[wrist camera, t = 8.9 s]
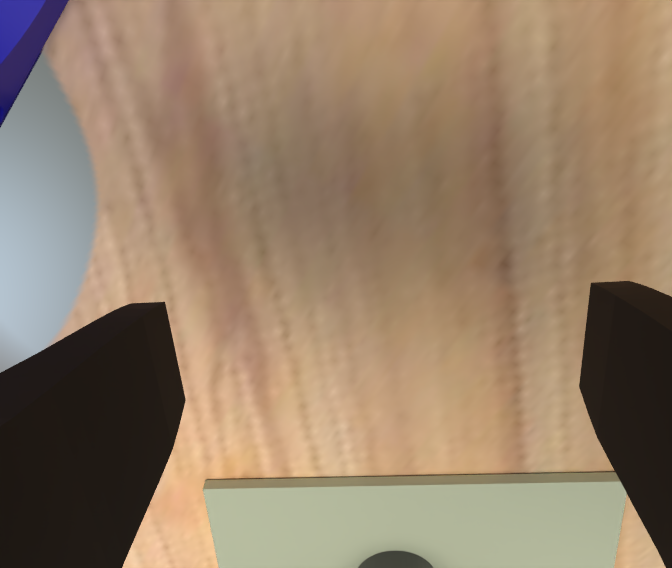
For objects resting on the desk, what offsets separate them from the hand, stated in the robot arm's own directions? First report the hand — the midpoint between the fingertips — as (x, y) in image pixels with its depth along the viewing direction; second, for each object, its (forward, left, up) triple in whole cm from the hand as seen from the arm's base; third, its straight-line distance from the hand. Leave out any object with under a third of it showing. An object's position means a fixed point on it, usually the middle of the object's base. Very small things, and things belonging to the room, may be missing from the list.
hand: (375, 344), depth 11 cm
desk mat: (-1, +20, -9) cm, 22 cm away
